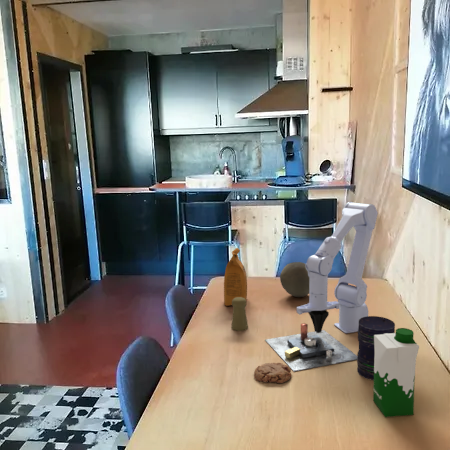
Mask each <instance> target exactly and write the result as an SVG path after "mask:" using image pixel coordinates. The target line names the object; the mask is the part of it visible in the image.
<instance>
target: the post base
mask: <svg viewBox="0 0 450 450" xmlns="http://www.w3.org/2000/svg"><path fill="white" fill-rule="evenodd" d="M312 335H318V336H320V337H321V338H322V339H323V340H324V341H326V342H327V343H328V344H329V345H330V346H332V347H333V348H334V352H332V360H331V361H327V360H326V354H321V355H316V356H310V357H305V358H302V357H301V356H300V355H297V356H294V357H292V358H290V359H289V358H287V357H286V356H285V351H287V350H289V349H292V347H291V346H290V345H289V344H288V343H287V340H288V339H294V338H300V337H301V333H298V334H292V335H286V336H285V335H283V336H279V337H273V338H266V339H265V340H264V341H265V342H266V343H267V345H269V346H270V348H271V349H273V351H274V352H275V353H276V354H277V356H279V357H280V359H282V361H283V362H284V363H285V365H287V366H289V367H290V368H291V371H293V372H295V373H296V372H299V371H305V370H310V369H315V368H320V367H326V366H331V365H336V364H342V363H346V362H352V361H357V355H358V354H356V353H354V352H353V351H352V350H350V349H349V348H348V347H346V345H344V344H343V343H341V342H340V341H339V340H337V339H336V338H335V337H334V336H332V335H331V334H330V333H328V332H327V331H326V330H325V329H322V331H321V333H317V332H316V331H315V330H314V331H308V336H312ZM304 346H305V347H306V348H312V347H317V346H316V339H315V338H313V337H307V338H305V345H304Z"/></svg>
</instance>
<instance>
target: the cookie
mask: <svg viewBox="0 0 450 450" xmlns="http://www.w3.org/2000/svg"><path fill="white" fill-rule="evenodd" d="M253 371H254V372H253V377H254V379H255V380H257V381H258V382H263V383H274V382H275V383H277V384H283V383H285V382H287V381H289V380H290V379H291V378H292V376H293V375H292V372H291V371H292V369H291V368H290V367H289V366H288V365H287V364H284V363H282V362H268V363H263V364H261V365H257V366H256V368H255V369H254V370H253Z"/></svg>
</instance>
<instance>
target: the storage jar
mask: <svg viewBox="0 0 450 450" xmlns="http://www.w3.org/2000/svg"><path fill="white" fill-rule="evenodd" d="M395 328H396V324H395V322H394V321H393V320H391V319H390V318H386V317H383V316H379V315H378V316H376V315H368V316H367V317H363V318H361V319H359V326H358V331H357V340H358V351H357V354H356V355H357V360H356V363H357V366H356V367H357V369H356V372H357V374H358V375H359V376H360V377H362V378H364V379H367V380H369V381H373V382H374V358H375V348H374V335H380V334H385V333H388V334H389V333H396V329H395Z"/></svg>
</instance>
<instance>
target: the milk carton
mask: <svg viewBox="0 0 450 450" xmlns="http://www.w3.org/2000/svg"><path fill="white" fill-rule="evenodd" d="M414 335H415V333H414V331H413V330H412V329H409V328H405V327H400V328H399V327H398V328H396V329H395V333H389V334H388V333H385V334H380V335H374V348H375V358H374V381H373V390H372V391H373V395H372V396H373V397H372V398H373V399H372V401H373V402H374V404H375V405H376V407H377V408H378V409H379V411H380V412H381V413H382V415H383V417H385V418H391V417H401V416H402V417H403V416H404V417H405V416H413V415H414V413H415V412H414V407H415V404H414V403H415V383H416V382H415V379H416V364H417V363H416V362H417V356H418V353H419V349H420V345H419V344H418V343H417V342H416V341H415V339H414Z"/></svg>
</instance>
